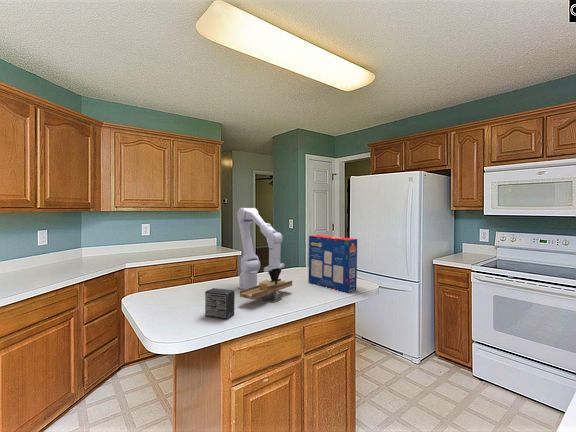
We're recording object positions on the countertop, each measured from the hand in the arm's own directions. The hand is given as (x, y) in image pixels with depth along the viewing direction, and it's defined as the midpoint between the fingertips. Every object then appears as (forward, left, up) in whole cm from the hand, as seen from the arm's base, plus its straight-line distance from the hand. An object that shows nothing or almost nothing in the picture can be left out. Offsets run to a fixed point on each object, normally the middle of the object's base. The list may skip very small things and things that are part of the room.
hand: (274, 283), depth 151 cm
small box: (-2, -34, -6) cm, 35 cm away
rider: (0, -6, -1) cm, 6 cm away
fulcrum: (0, -5, -6) cm, 8 cm away
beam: (0, -5, -2) cm, 6 cm away
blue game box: (+15, +34, -6) cm, 37 cm away
